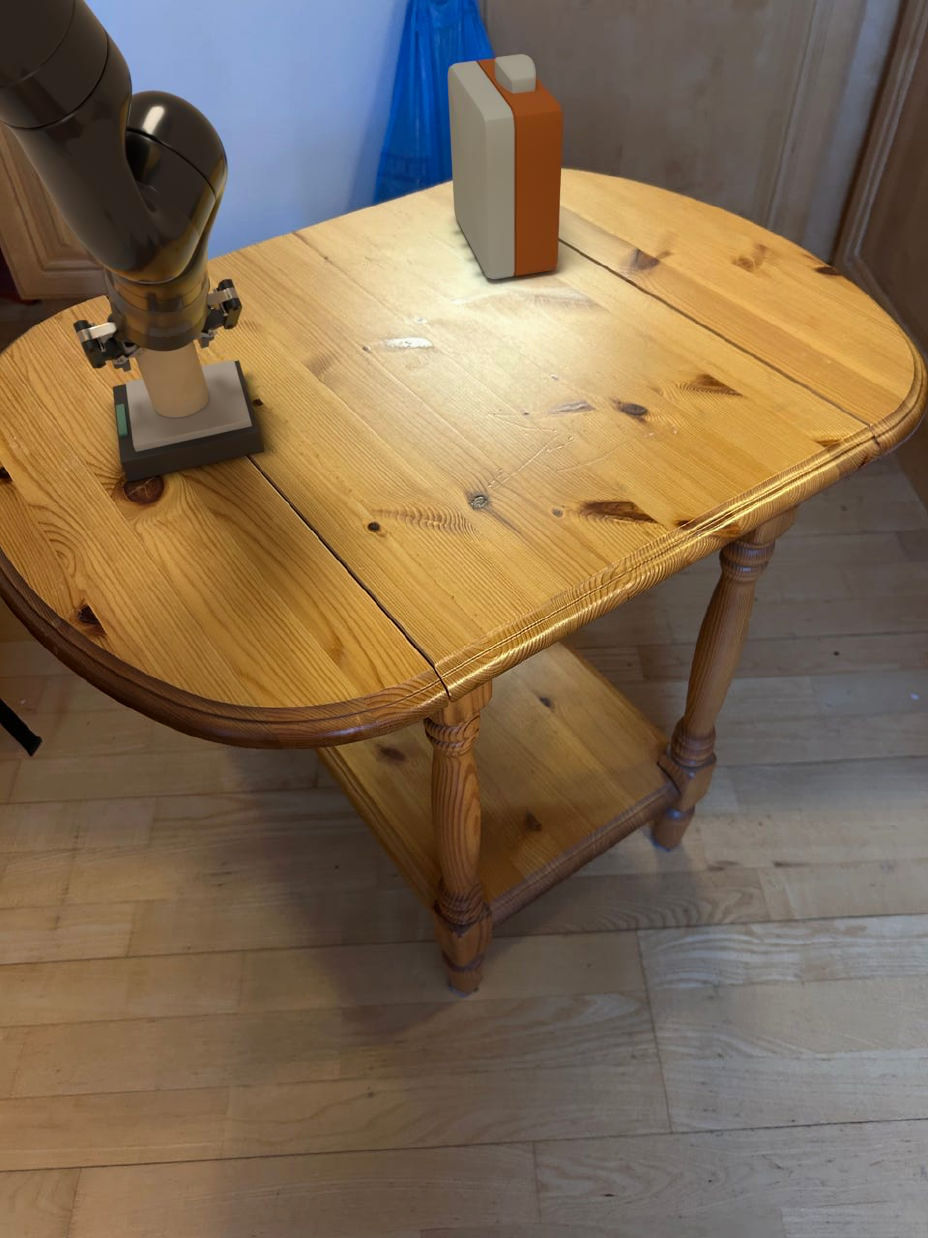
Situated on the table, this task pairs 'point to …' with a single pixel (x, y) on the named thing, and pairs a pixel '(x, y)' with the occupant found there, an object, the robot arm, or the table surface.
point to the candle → (174, 381)
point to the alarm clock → (506, 164)
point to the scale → (186, 426)
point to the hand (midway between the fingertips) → (162, 349)
